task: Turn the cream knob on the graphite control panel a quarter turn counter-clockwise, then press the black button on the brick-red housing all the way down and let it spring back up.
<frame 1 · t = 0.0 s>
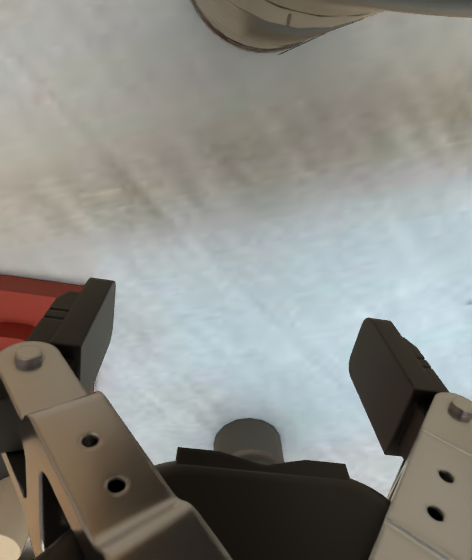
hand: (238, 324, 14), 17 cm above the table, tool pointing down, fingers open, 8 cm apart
knob: (6, 520, 34), point 6 cm above the table, hinge at 0.0°
candle holder: (247, 442, 40), on the table
button housing: (31, 345, 34), on the table
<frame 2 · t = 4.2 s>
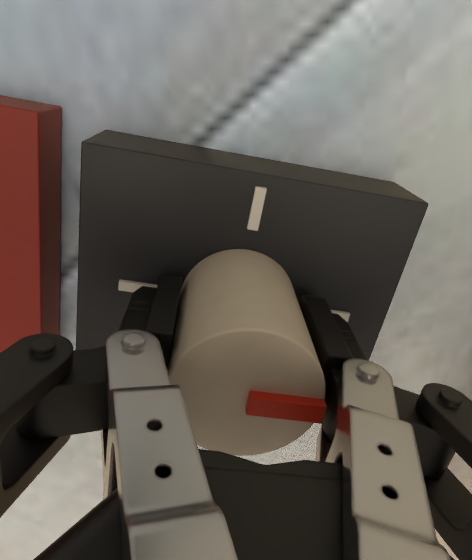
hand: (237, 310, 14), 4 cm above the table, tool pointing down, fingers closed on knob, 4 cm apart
knob: (240, 344, 13), point 6 cm above the table, hinge at -0.1°, touching gripper
control panel: (234, 266, 18), on the table
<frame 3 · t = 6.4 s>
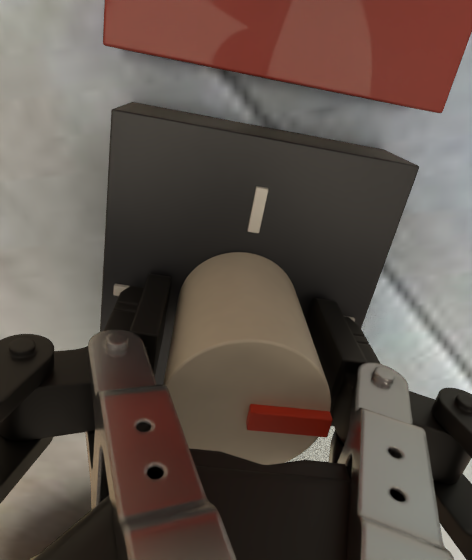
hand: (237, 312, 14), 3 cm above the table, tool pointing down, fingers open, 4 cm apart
knob: (241, 352, 12), point 6 cm above the table, hinge at 91.4°
control panel: (234, 268, 17), on the table
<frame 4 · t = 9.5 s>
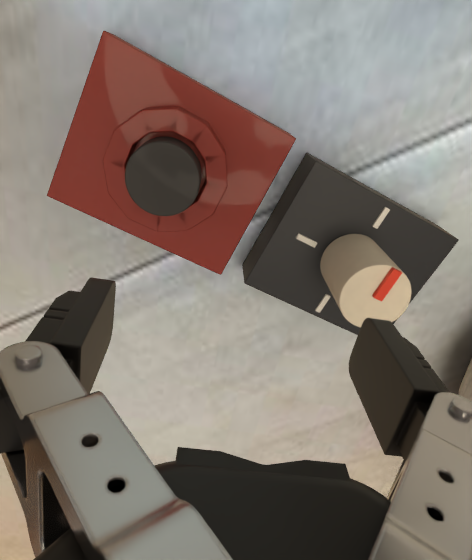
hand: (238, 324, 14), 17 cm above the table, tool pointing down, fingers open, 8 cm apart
knob: (362, 279, 26), point 6 cm above the table, hinge at 91.4°
button: (164, 176, 24), point 5 cm above the table, slide at 0.1 cm
control panel: (338, 245, 31), on the table
button housing: (172, 161, 28), on the table
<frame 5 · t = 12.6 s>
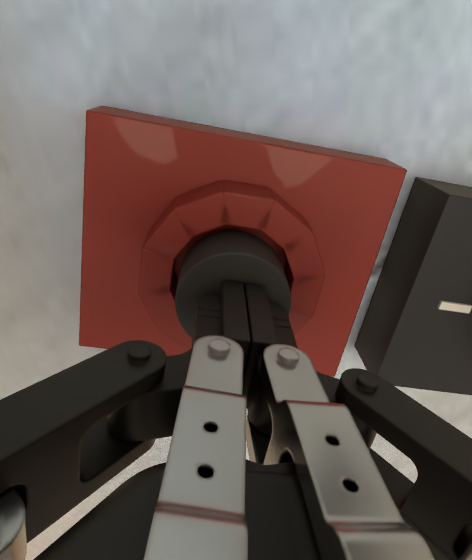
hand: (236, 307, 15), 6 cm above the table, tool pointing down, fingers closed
button: (232, 291, 16), point 5 cm above the table, slide at 0.1 cm, touching gripper
button housing: (228, 245, 20), on the table
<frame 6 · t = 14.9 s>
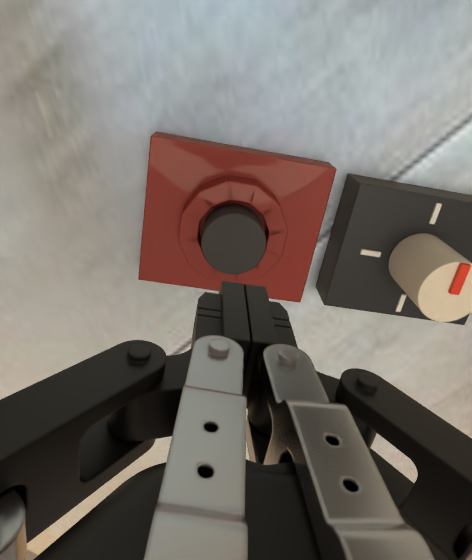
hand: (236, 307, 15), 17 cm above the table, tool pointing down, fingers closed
knob: (434, 276, 27), point 6 cm above the table, hinge at 91.4°
button: (233, 239, 27), point 5 cm above the table, slide at 0.1 cm
control panel: (400, 244, 33), on the table
button housing: (231, 217, 31), on the table
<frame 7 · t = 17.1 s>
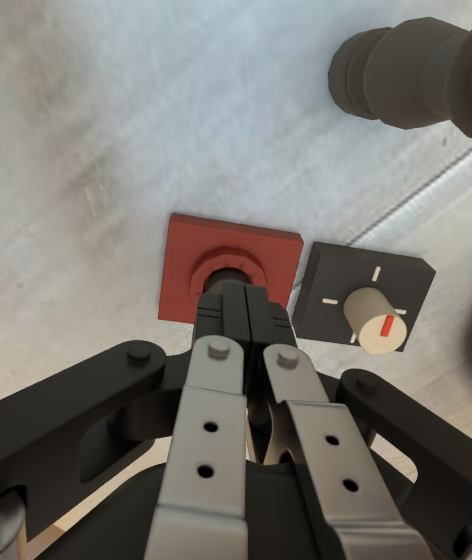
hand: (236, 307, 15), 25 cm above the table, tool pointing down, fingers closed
knob: (373, 320, 38), point 6 cm above the table, hinge at 91.4°
candle holder: (365, 75, 35), on the table
button: (228, 294, 37), point 5 cm above the table, slide at 0.1 cm
control panel: (355, 291, 43), on the table
button housing: (227, 272, 42), on the table
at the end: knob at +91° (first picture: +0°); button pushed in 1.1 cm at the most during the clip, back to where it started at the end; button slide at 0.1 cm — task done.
